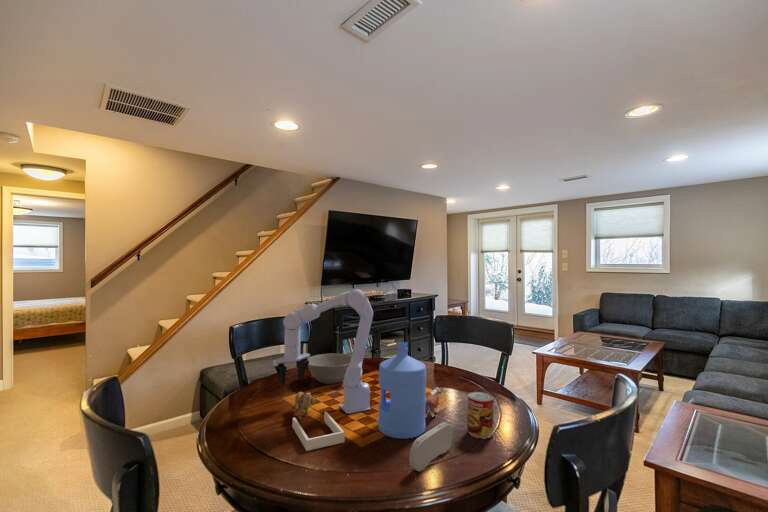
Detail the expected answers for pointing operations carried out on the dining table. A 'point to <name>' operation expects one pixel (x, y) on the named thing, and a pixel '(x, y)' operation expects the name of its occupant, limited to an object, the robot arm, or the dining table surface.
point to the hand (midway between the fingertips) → (291, 381)
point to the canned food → (480, 413)
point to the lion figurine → (303, 403)
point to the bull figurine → (432, 401)
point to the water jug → (402, 395)
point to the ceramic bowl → (329, 367)
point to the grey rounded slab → (430, 446)
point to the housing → (321, 440)
